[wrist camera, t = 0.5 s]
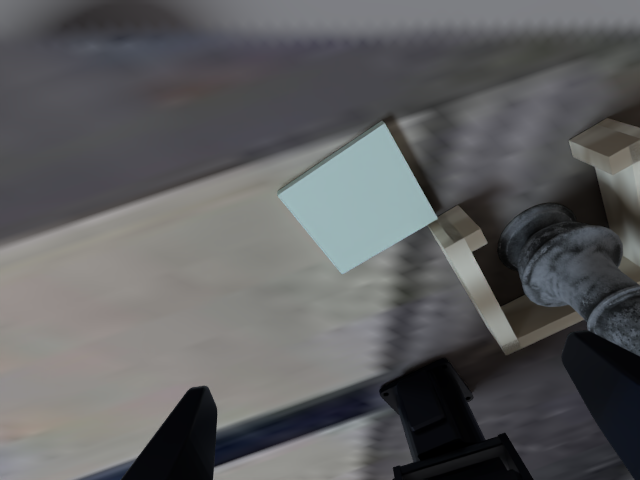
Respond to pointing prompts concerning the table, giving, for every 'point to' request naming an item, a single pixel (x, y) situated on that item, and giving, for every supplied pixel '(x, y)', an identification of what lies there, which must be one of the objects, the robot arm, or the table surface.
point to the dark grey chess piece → (574, 270)
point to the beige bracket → (623, 218)
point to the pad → (359, 199)
